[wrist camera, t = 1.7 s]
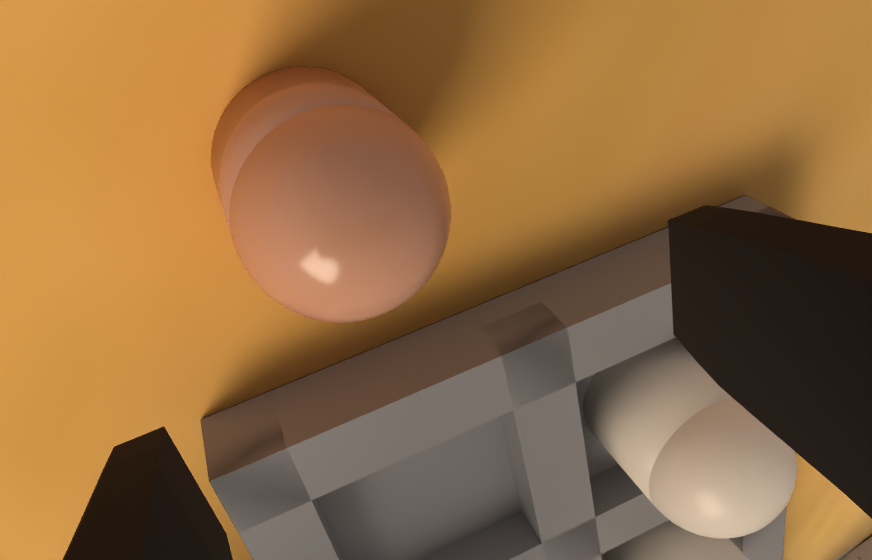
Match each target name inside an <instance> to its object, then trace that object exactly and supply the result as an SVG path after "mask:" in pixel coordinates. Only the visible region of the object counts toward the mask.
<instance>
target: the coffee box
mask: <svg viewBox="0 0 872 560" xmlns="http://www.w3.org/2000/svg"><path fill="white" fill-rule="evenodd" d="M841 560H872V536H871V537H870V538H868V539H867V540H866V541H864V542H863V543H862V544H860V545H859V546H858V547H856V548H855V549H854V550H852V551H851V552H850V553H849V554H847V555H846V556H845V557H843V558H842V559H841Z"/></svg>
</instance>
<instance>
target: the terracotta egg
mask: <svg viewBox="0 0 872 560" xmlns="http://www.w3.org/2000/svg"><path fill="white" fill-rule="evenodd" d="M211 166H212V172H213V177H214V181H215V184H216V188H217V191H218V194H219V198H220V201H221V204H222V207H223V211H224V214H225V217H226V221H227V224H228V227H229V231H230V234H231V237H232V240H233V243H234V246H235V249H236V252H237V254H238V256H239V258H240V260H241V262H242V264H243V266H244V268H245V270H246V271H247V273H248V274H249V275H250V277H251V278H252V280H253V281H254V282H255V283H256V284H257V285H258V286H259V287H260V288H261V289H262V290H263V291H264V292H265V293H266V294H267V295H268V296H269V297H270V298H272V299H273V300H274V301H276V302H277V303H278V304H280V305H282V306H284V307H285V308H287V309H289V310H291V311H292V312H295V313H297V314H299V315H302V316H304V317H308V318H312V319H315V320H320V321H327V322H338V323H347V322H357V321H362V320H366V319H371V318H374V317H377V316H379V315H382V314H385V313H387V312H389V311H391V310H393V309H395V308H397V307H398V306H400V305H401V304H403V303H404V302H406V301H407V300H408V299H410V298H411V297H412V296H413V295H414V294H415V293H417V292H418V291H419V290H420V289H421V288H422V286H423V285H424V284H425V283H426V282H427V281H428V279H429V278H430V277H431V275H432V274H433V272H434V271H435V269H436V268H437V266H438V264H439V262H440V260H441V258H442V255H443V253H444V250H445V247H446V243H447V239H448V235H449V230H450V221H451V205H450V197H449V191H448V186H447V183H446V179H445V176H444V174H443V171H442V169H441V167H440V165H439V163H438V161H437V159H436V157H435V155H434V154H433V152H432V151H431V149H430V148H429V146H428V145H427V144H426V143H425V142H424V141H423V140H422V138H421V137H420V136H419V135H418V134H417V133H416V132H415V131H414V130H413V129H412V128H410V127H409V126H408V125H407V124H406V123H405V122H403V121H402V120H401V119H400V118H399V117H397V116H396V115H395V114H394V113H393V112H391V111H390V110H389V109H388V108H387V107H385V106H384V105H383V104H382V103H381V102H379V101H378V100H377V99H376V98H375V97H373V96H372V95H371V94H370V93H369V92H367V91H366V90H365V89H364V88H363V87H361V86H360V85H359V84H358V83H356V82H355V81H353V80H351V79H350V78H348V77H346V76H344V75H342V74H340V73H338V72H335V71H332V70H328V69H325V68H319V67H310V66H298V67H289V68H284V69H280V70H276V71H274V72H271V73H269V74H266V75H264V76H262V77H260V78H258V79H256V80H255V81H253V82H251V83H250V84H249V85H247V86H246V87H245V88H244V89H242V90H241V91H240V92H239V93H238V94H237V95H236V96H235V97H234V98H233V99H232V101H231V102H230V103H229V105H228V106H227V107H226V109H225V110H224V112H223V114H222V116H221V118H220V119H219V122H218V124H217V127H216V130H215V133H214V137H213V141H212V149H211Z"/></svg>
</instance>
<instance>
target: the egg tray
mask: <svg viewBox="0 0 872 560" xmlns="http://www.w3.org/2000/svg"><path fill="white" fill-rule="evenodd" d="M719 207H724V208H732V209H739V210H745V211H751V212H757V213H763V214H768V215H774V216H780V217H785V218H790V219H794V218H792V217H789V216H787V215H785V214H783V213H781V212H779V211H777V210H775V209H773V208H771V207H769V206H767V205H765V204H763V203H761V202H759V201H757V200H755V199H753V198H751V197H749V196H747V195H745V196H743V197H740V198H738V199H736V200H733V201H731V202H728V203H726V204H723V205H721V206H719ZM201 427H202V434H203V441H204V448H205V455H206V463H207V470H208V477H209V482H210V484H211V486H212V487H213V489H214V491H215V493H216V494H217V496H218V498H219V500H220V502H221V503H222V505H223V507H224V509H225V510H226V512H227V514H228V516H229V517H230V519H231V521H232V523H233V524H234V526H235V528H236V530H237V531H238V533H239V535H240V537H241V539H242V540H243V542H244V544H245V546H246V547H247V549H248V551H249V553H250V554H251V556H252V558H253V560H783V547H784V533H785V519H786V505H787V503H788V502H789V500H790V497H791V495H792V492H793V490H794V487H795V482H796V476H797V458H796V453H795V451H794V450H793V449H792V448H790V447H789V446H788V445H787V444H786V443H785V442H783V441H782V440H781V439H780V438H779V437H777V436H776V435H775V434H774V433H773V432H772V431H770V430H769V429H768V428H767V427H766V426H765V425H763V424H762V423H761V422H760V421H759V420H758V419H756V418H755V417H754V416H753V415H752V414H751V413H749V412H748V411H747V410H746V409H745V408H744V407H743V406H741V405H740V404H739V403H738V402H737V401H736V400H734V399H733V398H732V397H731V396H730V395H729V394H728V393H727V392H725V391H724V390H723V389H722V388H721V387H720V386H719V385H718V384H717V383H716V382H715V381H714V380H713V379H712V378H711V377H710V376H709V375H708V373H707V372H706V371H705V370H704V369H703V368H702V367H701V366H700V365H699V364H698V363H697V361H696V360H695V359H694V358H693V357H692V356H691V354H690V353H689V352H688V351H687V350H686V349H685V347H684V346H683V345H682V344H681V343H680V341H679V340H678V339H677V338H676V337H675V336H674V334H673V315H672V293H671V272H670V250H669V229H668V228H665V229H663V230H660V231H658V232H655V233H653V234H651V235H648V236H646V237H643V238H641V239H638V240H636V241H634V242H631V243H629V244H626V245H624V246H621V247H619V248H617V249H614V250H612V251H609V252H607V253H604V254H602V255H600V256H597V257H595V258H592V259H590V260H587V261H585V262H583V263H580V264H578V265H575V266H573V267H570V268H568V269H566V270H563V271H561V272H558V273H556V274H553V275H551V276H549V277H546V278H544V279H541V280H539V281H536V282H534V283H532V284H529V285H527V286H524V287H522V288H519V289H517V290H515V291H512V292H510V293H507V294H505V295H502V296H500V297H498V298H495V299H493V300H490V301H488V302H485V303H483V304H481V305H478V306H476V307H473V308H471V309H468V310H466V311H464V312H461V313H459V314H456V315H454V316H451V317H449V318H447V319H444V320H442V321H439V322H437V323H434V324H432V325H430V326H427V327H425V328H422V329H420V330H417V331H415V332H413V333H410V334H408V335H405V336H403V337H400V338H398V339H396V340H393V341H391V342H388V343H386V344H383V345H381V346H379V347H376V348H374V349H371V350H369V351H366V352H364V353H362V354H359V355H357V356H354V357H352V358H349V359H347V360H345V361H342V362H340V363H337V364H335V365H332V366H330V367H328V368H325V369H323V370H320V371H318V372H315V373H313V374H311V375H308V376H306V377H303V378H301V379H298V380H296V381H294V382H291V383H289V384H286V385H284V386H281V387H279V388H277V389H274V390H272V391H269V392H267V393H264V394H262V395H260V396H257V397H255V398H252V399H250V400H247V401H245V402H243V403H240V404H238V405H235V406H233V407H230V408H228V409H226V410H223V411H221V412H218V413H216V414H213V415H211V416H208V417H206V418H204V419H201Z"/></svg>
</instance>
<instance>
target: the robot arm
mask: <svg viewBox="0 0 872 560" xmlns="http://www.w3.org/2000/svg"><path fill="white" fill-rule="evenodd" d="M668 229H669V250H670V272H671V293H672V315H673V334H674V336H675V337H676V338H677V339H678V340H679V341H680V343H681V344H682V345H683V346H684V347H685V349H686V350H687V351H688V352H689V353H690V354H691V356H692V357H693V358H694V359H695V360H696V361H697V363H698V364H699V365H700V366H701V367H702V368H703V369H704V370H705V371H706V372H707V373H708V375H709V376H710V377H711V378H712V379H713V380H714V381H715V382H716V383H717V384H718V385H719V386H720V387H721V388H722V389H723V390H724V391H725V392H727V393H728V394H729V395H730V396H731V397H732V398H733V399H734V400H736V401H737V402H738V403H739V404H740V405H741V406H743V407H744V408H745V409H746V410H747V411H748V412H749V413H751V414H752V415H753V416H754V417H755V418H756V419H758V420H759V421H760V422H761V423H762V424H763V425H765V426H766V427H767V428H768V429H769V430H770V431H772V432H773V433H774V434H775V435H776V436H777V437H779V438H780V439H781V440H782V441H783V442H785V443H786V444H787V445H788V446H789V447H790V448H792V449H793V450H794V451H795V452H796V453H798V454H799V455H800V456H801V457H802V458H803V459H805V460H806V461H807V462H808V463H809V464H810V465H812V466H813V467H814V468H815V469H816V470H818V471H819V472H820V473H821V474H822V475H823V476H825V477H826V478H827V479H828V480H829V481H830V482H832V483H833V484H834V485H835V486H836V487H838V488H839V489H840V490H841V491H842V492H843V493H844V494H846V495H847V496H848V497H849V498H850V499H851V500H852V501H853V502H854V503H855V504H856V505H858V506H859V507H860V508H861V509H862V510H863V511H864V512H865V513H866V514H867V515H868V516H869V517H871V518H872V233H866V232H860V231H855V230H849V229H844V228H838V227H833V226H828V225H822V224H817V223H812V222H806V221H801V220H796V219H790V218H785V217H780V216H774V215H768V214H763V213H757V212H751V211H745V210H739V209H732V208H724V207H715V206H702V207H700V208H697V209H695V210H692V211H690V212H688V213H685V214H683V215H680V216H678V217H675V218H673V219H670V220H668ZM63 560H233V559H232V555H231V551H230V547H229V543H228V539H227V535H226V532H225V531H224V529H223V527H222V525H221V524H220V522H219V520H218V519H217V517H216V515H215V513H214V512H213V510H212V508H211V506H210V505H209V503H208V501H207V500H206V498H205V496H204V494H203V493H202V491H201V489H200V488H199V486H198V484H197V482H196V481H195V479H194V477H193V476H192V474H191V472H190V470H189V469H188V467H187V465H186V463H185V462H184V460H183V458H182V457H181V455H180V453H179V451H178V450H177V448H176V446H175V445H174V443H173V441H172V439H171V438H170V436H169V434H168V433H167V431H166V429H165V427H161V428H159V429H157V430H154V431H152V432H149V433H147V434H144V435H142V436H139V437H137V438H135V439H132V440H130V441H127V442H125V443H122V444H120V445H117V446H115V447H114V448H113V450H112V452H111V454H110V456H109V458H108V461H107V463H106V465H105V467H104V469H103V471H102V473H101V476H100V478H99V480H98V482H97V485H96V487H95V489H94V491H93V494H92V496H91V498H90V500H89V503H88V505H87V507H86V509H85V512H84V514H83V516H82V518H81V521H80V523H79V525H78V527H77V529H76V532H75V534H74V536H73V538H72V541H71V543H70V545H69V547H68V549H67V551H66V554H65V556H64V558H63Z"/></svg>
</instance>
